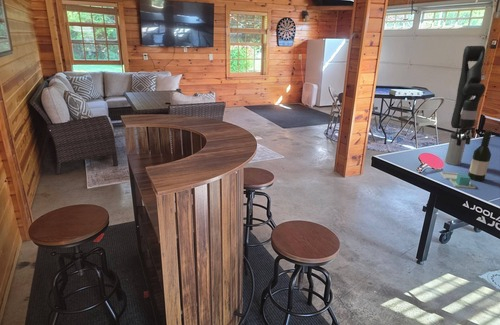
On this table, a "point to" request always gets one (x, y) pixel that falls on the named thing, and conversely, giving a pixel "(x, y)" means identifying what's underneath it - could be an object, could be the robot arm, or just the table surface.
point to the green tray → (462, 186)
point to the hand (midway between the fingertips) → (462, 144)
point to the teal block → (463, 180)
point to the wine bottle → (480, 159)
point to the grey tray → (449, 175)
